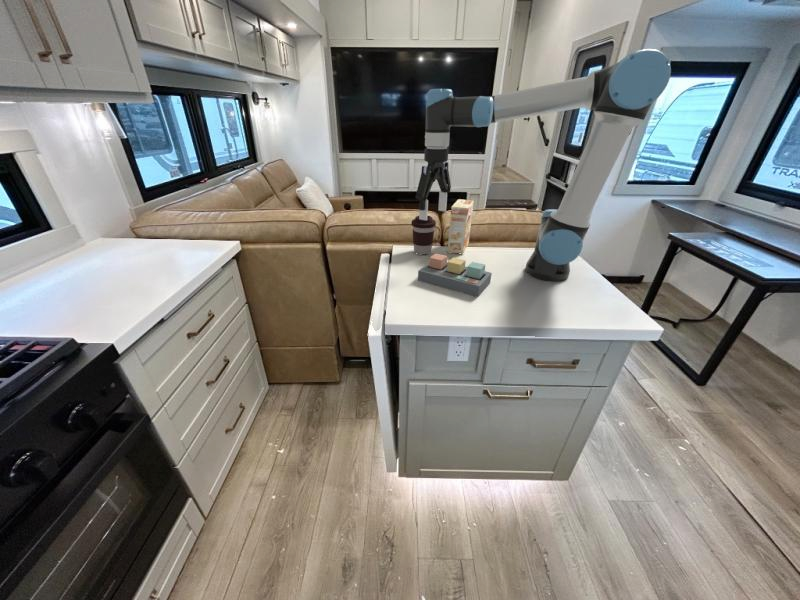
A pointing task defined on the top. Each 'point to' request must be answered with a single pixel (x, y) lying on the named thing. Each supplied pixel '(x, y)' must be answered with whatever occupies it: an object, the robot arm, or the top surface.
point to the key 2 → (475, 270)
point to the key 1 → (438, 261)
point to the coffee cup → (423, 234)
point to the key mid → (456, 265)
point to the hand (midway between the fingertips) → (433, 215)
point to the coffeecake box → (460, 226)
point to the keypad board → (454, 280)
